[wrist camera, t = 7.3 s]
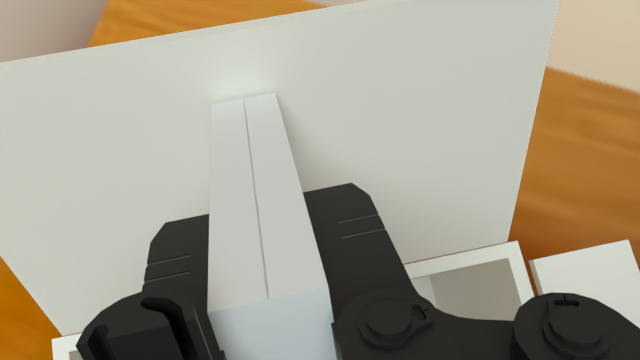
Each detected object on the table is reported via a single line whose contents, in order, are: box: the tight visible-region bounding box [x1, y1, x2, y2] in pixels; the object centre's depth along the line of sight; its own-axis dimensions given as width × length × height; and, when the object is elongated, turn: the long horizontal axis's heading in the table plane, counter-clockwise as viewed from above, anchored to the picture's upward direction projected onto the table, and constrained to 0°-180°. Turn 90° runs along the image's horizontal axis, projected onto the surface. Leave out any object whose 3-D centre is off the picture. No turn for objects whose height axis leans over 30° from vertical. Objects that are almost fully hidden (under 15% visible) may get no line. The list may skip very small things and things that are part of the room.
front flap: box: [0, 0, 560, 336], centre depth 14 cm, size 15×1×9 cm
